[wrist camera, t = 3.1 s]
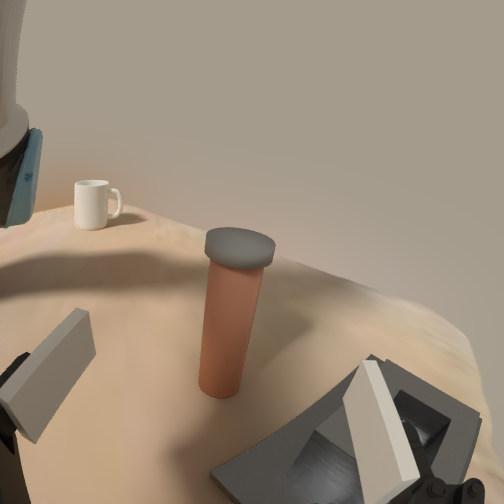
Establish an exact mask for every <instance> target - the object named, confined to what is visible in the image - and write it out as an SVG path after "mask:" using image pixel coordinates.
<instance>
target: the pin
mask: <svg viewBox="0 0 504 504" xmlns="http://www.w3.org/2000/svg"><path fill="white" fill-rule="evenodd" d="M274 250H275V242H274V241H273V240H272V239H271V238H269V237H268V236H266V235H263V234H261V233H258V232H255V231H251V230H246V229H241V228H230V227H226V228H225V227H224V228H216V229H212V230H210V231H208V232H207V234H206V242H205V254H206V255H207V256H208V257H209V258H210V266H209V275H208V284H207V293H206V303H205V313H204V323H203V333H202V344H201V356H200V369H199V386H200V388H201V390H202V391H203V392H204V393H206V394H207V395H209V396H211V397H215V398H227V397H230V396H232V395H234V394H235V393H236V392H237V391H238V388H239V384H240V379H241V375H242V370H243V366H244V361H245V356H246V352H247V347H248V342H249V338H250V333H251V328H252V323H253V318H254V314H255V309H256V304H257V299H258V294H259V289H260V284H261V280H262V275H263V270H264V267H267V266H269V265H270V264H271V263H272V260H273V255H274Z"/></svg>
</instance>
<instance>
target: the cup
mask: <svg viewBox="0 0 504 504" xmlns="http://www.w3.org/2000/svg"><path fill="white" fill-rule="evenodd" d="M108 187H109V182H107V181H102V180H84V181H79V182H76V183H75V226H76V227H77V228H78V229H80V230H87V231H91V230H99V229H102V228H104V227H105V226H106V225H107V219H115V218H117V217H118V216H119V215H120V214H121V212H122V208H123V198H122V195H121V192H120V191H119V190H117V189H108ZM108 194H116V195H117V197H118V202H119V205H118V210H117V212H116V213H114V214H108Z"/></svg>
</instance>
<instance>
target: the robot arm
mask: <svg viewBox="0 0 504 504" xmlns="http://www.w3.org/2000/svg"><path fill="white" fill-rule="evenodd" d="M26 2H27V0H0V228H8V227H9V226H15V225H21V224H25V223H26V222H28V221H29V220H30V218H31V216H32V214H33V210H34V204H35V197H36V189H37V181H38V173H39V165H40V157H41V149H42V139H43V136H42V131H41V130H39V129H36V128H32V129H30V130H29V120H28V114H27V112H26V110H25V109H24V108H23V107H21V106H20V105H18V104H16V74H17V60H18V49H19V40H20V33H21V27H22V22H23V15H24V11H25V6H26ZM95 355H96V350H95V345H94V340H93V335H92V329H91V323H90V317H89V312H88V311H85V310H82V309H79V308H76V309H75V310H74V311H73V312H72V313H71V314H70V315H69V316H68V317H67V318H66V319H65V320H64V321H63V322H62V323H61V324H60V325H59V326H58V327H57V328H56V329H55V330H54V331H53V332H52V333H51V334H50V335H49V336H48V337H47V338H46V339H45V340H44V341H43V342H42V343H41V344H40V345H39V346H38V347H37V348H36V349H35V350H34V351H33V352H32V353H31V354H30V353H28V352H26V353H24V354H22V355H20V356H18V357H17V358H16V359H15V360H14V361H13V362H12V364H11V365H10V366H9V367H8V368H7V369H6V371H4V372H3V373H2V374H1V376H0V504H31V501H30V498H29V494H28V491H27V487H26V483H25V479H24V475H23V471H22V466H21V461H20V456H19V450H18V444H17V437H16V434H15V433H14V432H15V431H16V429H18V431H19V432H20V433H21V435H22V436H23V437H24V438H26V439H28V440H29V441H31V442H32V443H34V444H36V442H37V441H38V439H39V437H40V436H41V434H42V433H43V431H44V430H45V428H46V426H47V425H48V423H49V422H50V420H51V419H52V417H53V416H54V414H55V413H56V411H57V409H58V408H59V406H60V405H61V403H62V402H63V401H64V399H65V398H66V396H67V395H68V393H69V392H70V390H71V389H72V387H73V386H74V385H75V383H76V382H77V380H78V379H79V377H80V376H81V375H82V373H83V372H84V370H85V369H86V368H87V366H88V365H89V363H90V362H91V361H92V359H93V358H94V357H95ZM343 402H344V406H345V410H346V415H347V419H348V423H349V428H350V432H351V437H352V441H353V446H354V451H355V456H356V460H357V465H358V470H359V475H360V481H361V486H362V491H363V497H364V503H365V504H386V503H388V502H389V501H390V504H484V498H485V489H484V485H483V483H482V482H481V481H480V480H479V479H477V478H470V479H468V480H467V481H466V482H464V483H463V484H446V483H445V482H444V481H443V480H442V479H440V478H437V477H435V476H434V474H433V472H432V469H431V466H430V464H429V461H428V458H427V455H426V453H425V450H424V448H423V445H422V442H421V441H420V437H419V435H418V432H417V430H416V428H415V427H414V426H413V425H412V424H411V423H410V422H409V421H408V422H401V420H400V418H399V415H398V413H397V410H396V407H395V405H394V402H393V400H392V397H391V395H390V392H389V390H388V388H387V385H386V383H385V380H384V378H383V376H382V373H381V371H380V369H379V366H378V364H377V362H376V361H375V360H362V361H361V363H360V365H359V367H358V369H357V371H356V374H355V376H354V377H353V379H352V381H351V383H350V385H349V387H348V389H347V391H346V393H345V395H344V397H343Z"/></svg>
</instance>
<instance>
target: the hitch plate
mask: <svg viewBox="0 0 504 504" xmlns="http://www.w3.org/2000/svg"><path fill="white" fill-rule="evenodd" d="M366 360H375V361H376V362H377V364H378V366H379V369H380V371H381V373H382V376H383V378H384V380H385V383H386V385H387V388H388V390H389V392H390V395H391V397H392V400H393V402H394V405H395V407H396V410H397V413H398V415H399V418H400V420H401V422H408V421H409V422H410V423H411V424H412V425H413V426H414V427H415V428H416V430H417V432H418V435H419V437H420V441H421V442H422V445H423V448H424V450H425V453H426V455H427V458H428V461H429V464H430V466H431V469H432V472H433V474H434V476H435V477H437V478H440V479H442V480H443V481H444V482H445V483H446V484H462V483H463V481H464V478H465V475H466V472H467V470H468V467H469V464H470V461H471V458H472V455H473V452H474V448H475V445H476V441H477V438H478V434H479V430H480V426H481V422H482V419H481V418H479V416H480V413H479V412H477V411H475V410H474V409H472V408H470V407H468V406H467V405H465V404H463V403H461V402H460V401H458V400H456V399H454V398H453V397H451V396H449V395H447V394H446V393H444V392H442V391H441V390H439V389H437V388H435V387H434V386H432V385H430V384H429V383H427V382H425V381H423V380H422V379H420V378H418V377H417V376H415V375H413V374H412V373H410V372H408V371H407V370H405V369H403V368H401V367H400V366H398V365H396V364H395V363H393V362H391V361H390V360H388V359H386V361H385V362H384V361H382V360H380V359H379V358H377V357H375V356H374V355H372V354H371V355H370V356H369V357H368V358H367V359H366ZM358 367H359V366H358ZM358 367H357V368H356V369H355V370H354V371H353V372H351V373H350V374H349V375H348V376H347V377H346V378H345V379H344V380H342V381H341V382H340V383H339V384H338V385H337V386H335V387H334V388H333V389H332V390H331V391H329V392H328V393H327V394H326V395H325V396H323V397H322V398H321V399H320V400H318V401H317V402H316V403H315V404H313V405H312V406H311V407H309V408H308V409H307V410H305V411H304V412H303V413H301V414H300V415H299V416H297V417H296V418H295V419H293V420H292V421H291V422H289V423H288V424H286V425H285V426H284V427H282V428H281V429H279V430H278V431H276V432H275V433H273V434H272V435H270V436H269V437H267V438H266V439H264V440H263V441H261V442H260V443H258V444H257V445H255V446H254V447H252V448H250V449H249V450H247V451H245V452H244V453H242V454H241V455H239V456H237V457H235V458H234V459H232V460H230V461H229V462H227V463H225V464H223V465H221V466H220V467H218V468H216V469H214V470H212V471H210V478H211V479H212V480H213V481H214V482H215V483H216V484H217V485H218V487H219V488H220V489H221V490H222V491H223V492H224V493H225V494H226V495H227V496H228V497H229V498H230V499H231V500H232V501H233V502H234V503H235V504H365V503H364V497H363V491H362V486H361V481H360V475H359V470H358V465H357V460H356V456H355V451H354V446H353V441H352V437H351V432H350V428H349V423H348V419H347V415H346V410H345V406H344V402H343V397H344V395H345V393H346V391H347V389H348V387H349V385H350V383H351V381H352V379H353V377H354V376H355V374H356V371H357V369H358ZM386 504H390V501H389V502H388V503H386Z"/></svg>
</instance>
